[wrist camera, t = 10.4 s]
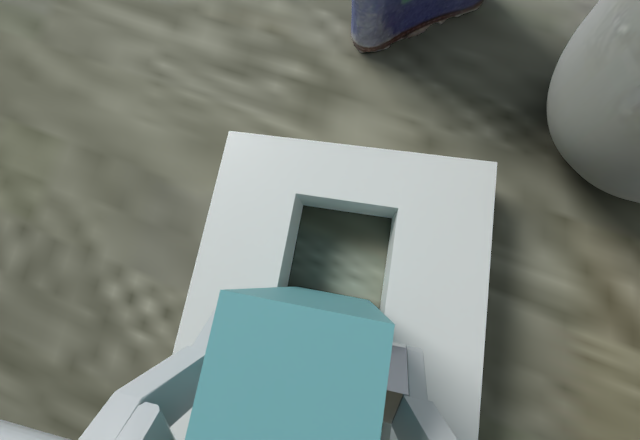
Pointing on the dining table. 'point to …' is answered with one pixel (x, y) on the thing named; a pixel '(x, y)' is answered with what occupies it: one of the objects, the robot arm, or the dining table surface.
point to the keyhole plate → (402, 257)
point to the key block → (293, 367)
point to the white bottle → (601, 99)
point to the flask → (400, 19)
